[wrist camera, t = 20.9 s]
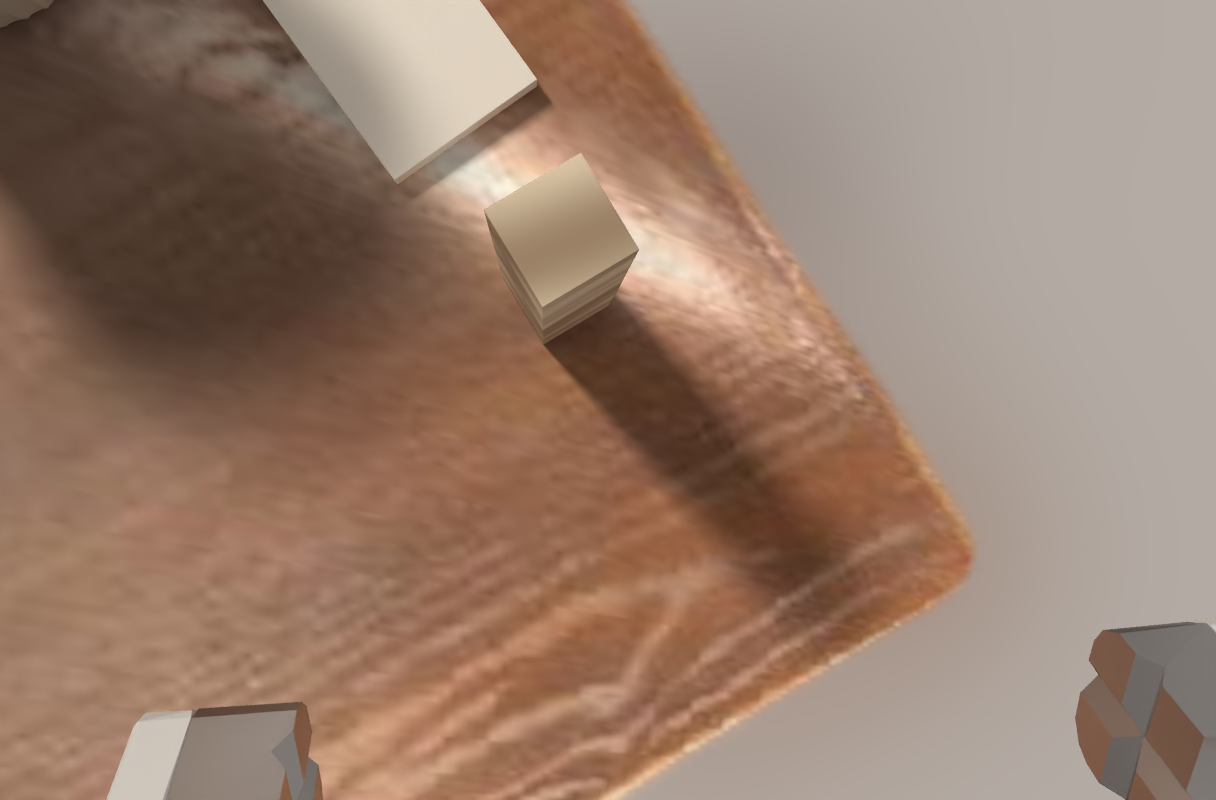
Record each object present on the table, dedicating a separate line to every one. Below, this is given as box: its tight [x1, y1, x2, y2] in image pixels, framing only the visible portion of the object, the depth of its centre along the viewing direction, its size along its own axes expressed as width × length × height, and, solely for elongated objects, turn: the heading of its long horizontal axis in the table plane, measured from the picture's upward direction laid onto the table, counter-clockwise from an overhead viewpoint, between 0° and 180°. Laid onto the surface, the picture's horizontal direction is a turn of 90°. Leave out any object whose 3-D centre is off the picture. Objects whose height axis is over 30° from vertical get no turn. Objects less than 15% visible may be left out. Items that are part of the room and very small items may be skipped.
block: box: [484, 153, 639, 345], centre depth 42 cm, size 4×4×16 cm
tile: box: [263, 0, 537, 185], centre depth 50 cm, size 2×8×10 cm
